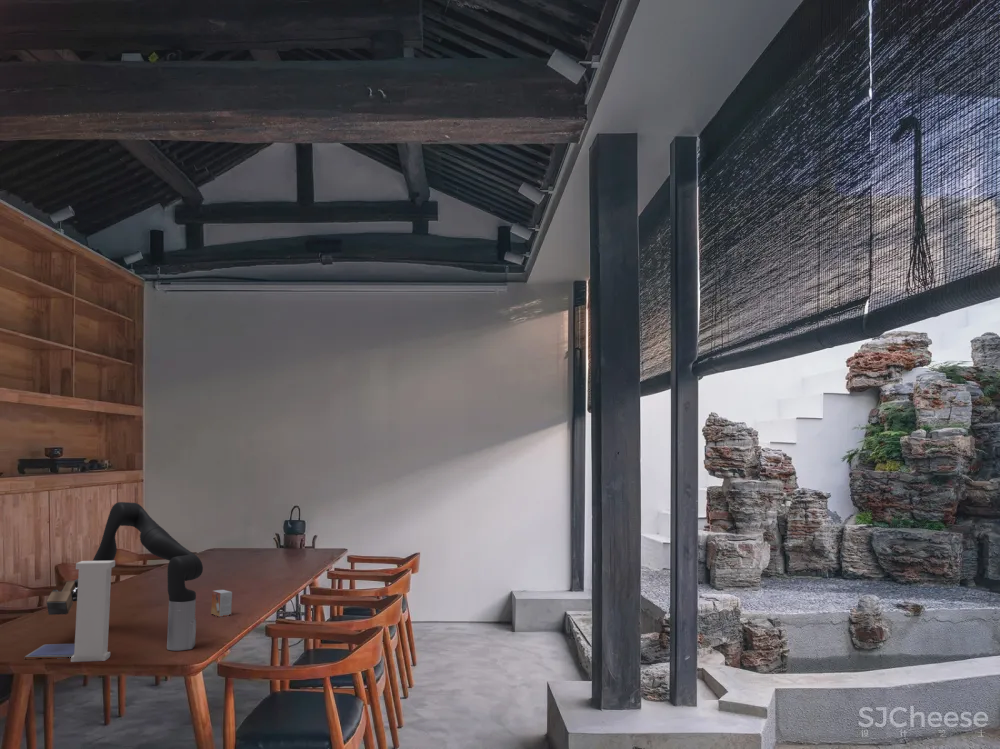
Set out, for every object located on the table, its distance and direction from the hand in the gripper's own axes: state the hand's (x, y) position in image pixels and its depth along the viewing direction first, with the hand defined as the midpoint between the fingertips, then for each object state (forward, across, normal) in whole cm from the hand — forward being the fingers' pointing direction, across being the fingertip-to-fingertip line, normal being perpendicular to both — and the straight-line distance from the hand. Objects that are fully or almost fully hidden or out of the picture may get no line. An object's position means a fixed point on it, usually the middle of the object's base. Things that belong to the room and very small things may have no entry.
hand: (62, 597), depth 298 cm
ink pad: (+1, 0, +19) cm, 19 cm away
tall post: (+13, +14, +19) cm, 27 cm away
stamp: (-2, 0, +2) cm, 3 cm away
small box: (-60, +46, +20) cm, 78 cm away
